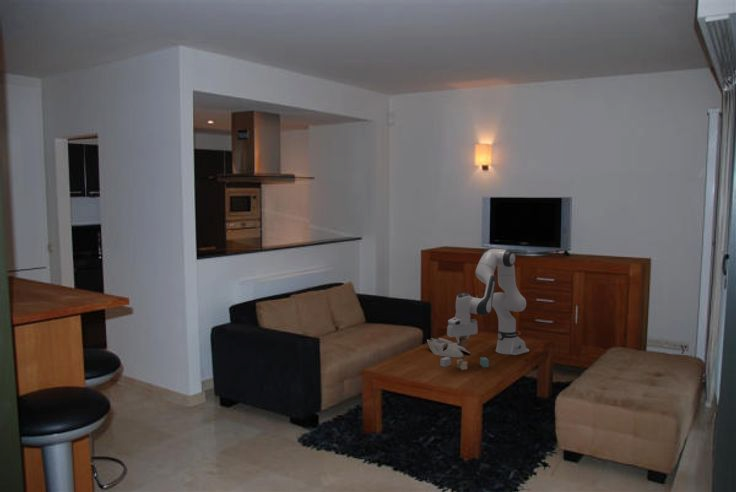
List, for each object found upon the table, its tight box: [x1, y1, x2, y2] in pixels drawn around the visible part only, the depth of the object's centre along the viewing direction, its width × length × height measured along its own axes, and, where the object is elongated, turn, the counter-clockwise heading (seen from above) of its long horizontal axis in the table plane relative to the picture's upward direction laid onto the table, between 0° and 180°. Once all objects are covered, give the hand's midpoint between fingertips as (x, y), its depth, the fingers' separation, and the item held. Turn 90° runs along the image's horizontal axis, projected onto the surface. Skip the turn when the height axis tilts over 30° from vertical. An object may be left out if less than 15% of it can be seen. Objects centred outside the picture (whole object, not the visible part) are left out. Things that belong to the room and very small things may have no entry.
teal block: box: [479, 356, 490, 368], centre depth 376 cm, size 6×4×4 cm, turn 6°
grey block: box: [439, 356, 452, 368], centre depth 376 cm, size 6×4×4 cm, turn 136°
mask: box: [426, 337, 471, 359], centre depth 405 cm, size 20×9×30 cm
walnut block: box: [456, 336, 469, 348], centre depth 369 cm, size 6×4×4 cm, turn 26°
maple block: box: [456, 358, 468, 371], centre depth 371 cm, size 6×4×4 cm, turn 26°
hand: (462, 342), depth 369 cm, fingers closed on walnut block, 3 cm apart
